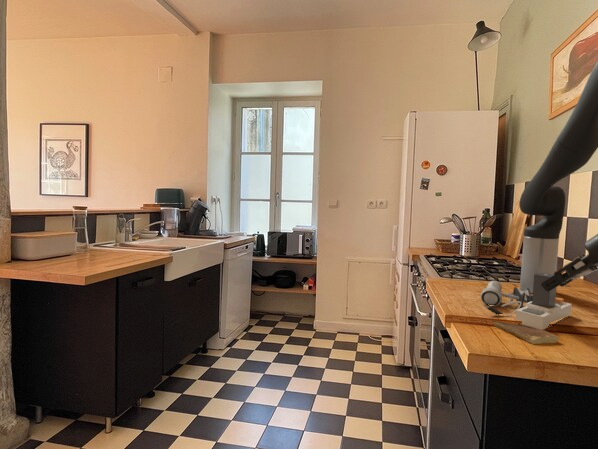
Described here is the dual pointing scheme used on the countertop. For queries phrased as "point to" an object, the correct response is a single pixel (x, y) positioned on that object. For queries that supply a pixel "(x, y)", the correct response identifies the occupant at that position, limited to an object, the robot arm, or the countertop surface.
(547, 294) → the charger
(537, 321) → the power strip
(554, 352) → the countertop surface
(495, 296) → the clip-on lamp
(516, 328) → the shard
